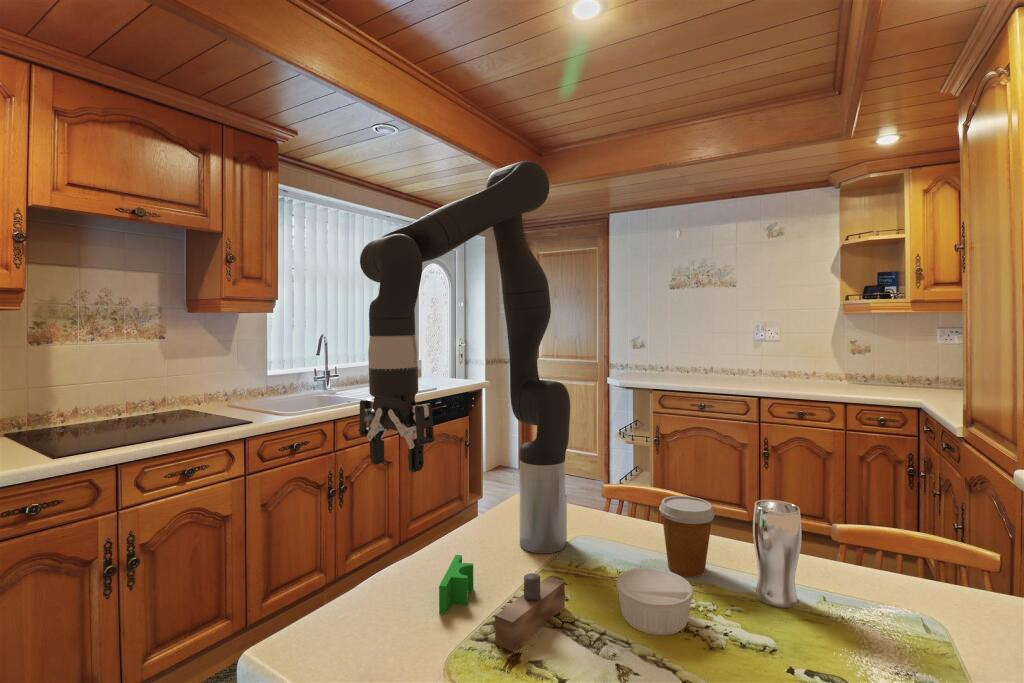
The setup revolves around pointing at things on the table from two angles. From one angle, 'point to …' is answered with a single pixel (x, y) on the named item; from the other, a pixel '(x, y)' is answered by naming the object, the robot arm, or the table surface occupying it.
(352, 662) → the table surface
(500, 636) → the bar
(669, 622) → the ramekin
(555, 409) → the robot arm
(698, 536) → the disposable coffee cup
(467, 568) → the pipe clamp
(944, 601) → the table surface
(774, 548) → the beer glass
